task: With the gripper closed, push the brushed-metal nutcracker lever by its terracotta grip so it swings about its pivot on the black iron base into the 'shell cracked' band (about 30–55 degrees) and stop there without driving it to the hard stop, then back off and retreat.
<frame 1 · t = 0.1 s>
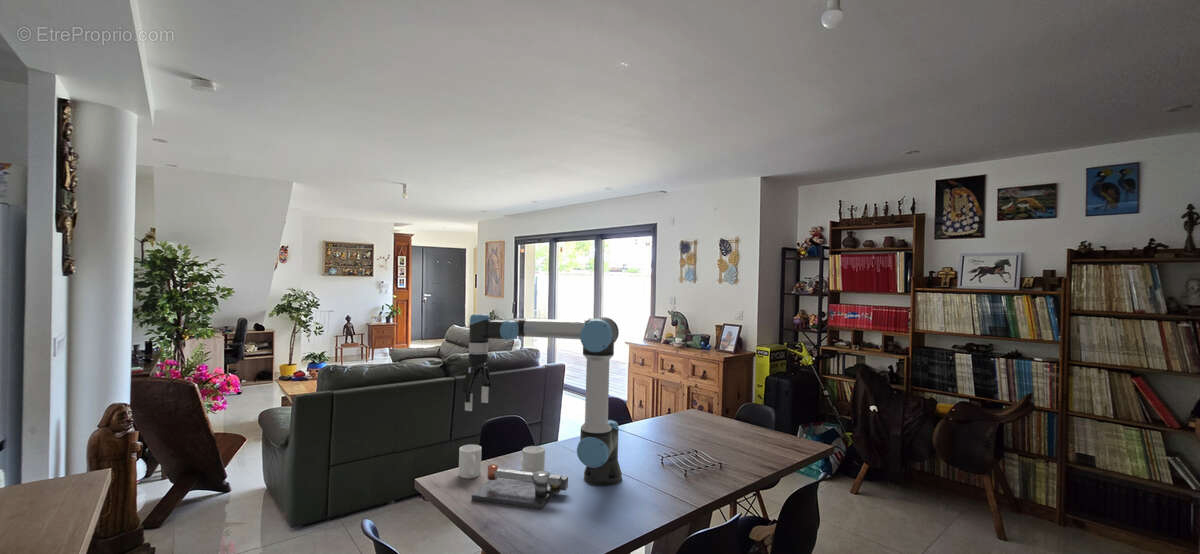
hand: (476, 406, 195), 28 cm above the table, fingers open, 13 cm apart
mug 2: (531, 471, 202), on the table
lever: (523, 475, 177), point 8 cm above the table, hinge at 0.0°
mug: (470, 476, 195), on the table
press base: (514, 495, 178), on the table
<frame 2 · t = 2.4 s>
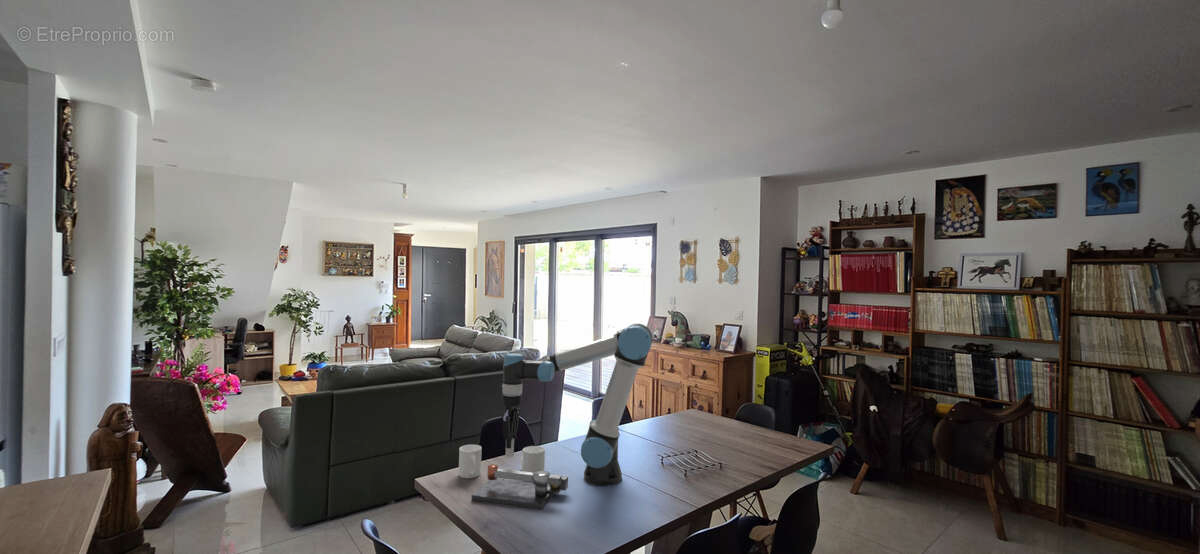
hand: (509, 455, 188), 11 cm above the table, fingers closed
nothing on the table moved.
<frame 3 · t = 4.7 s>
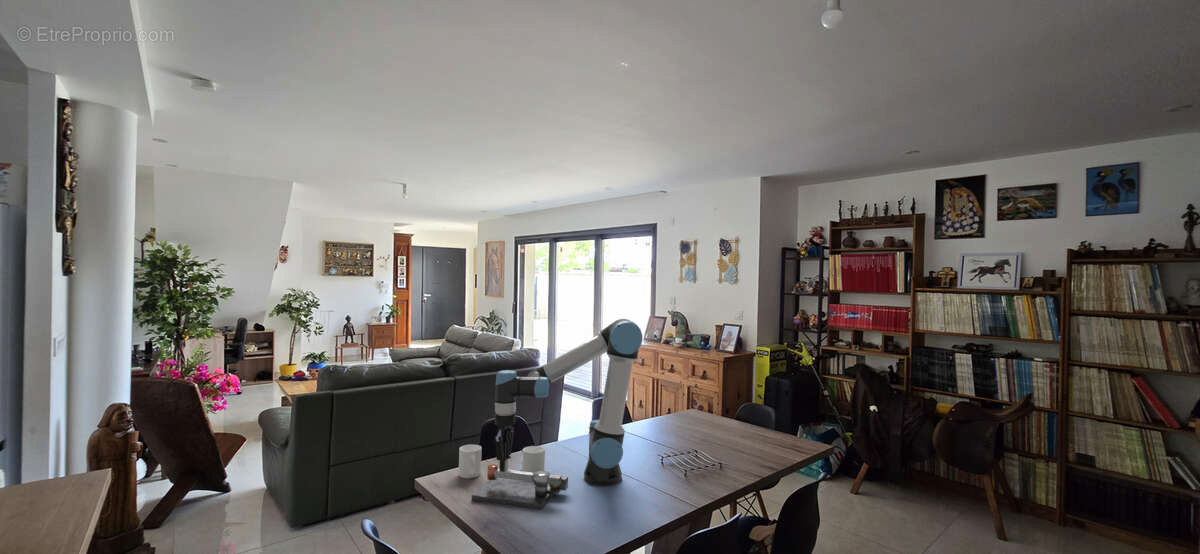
hand: (503, 477, 181), 6 cm above the table, fingers closed
lever: (523, 475, 177), point 8 cm above the table, hinge at 0.2°, touching gripper
everything else where it was.
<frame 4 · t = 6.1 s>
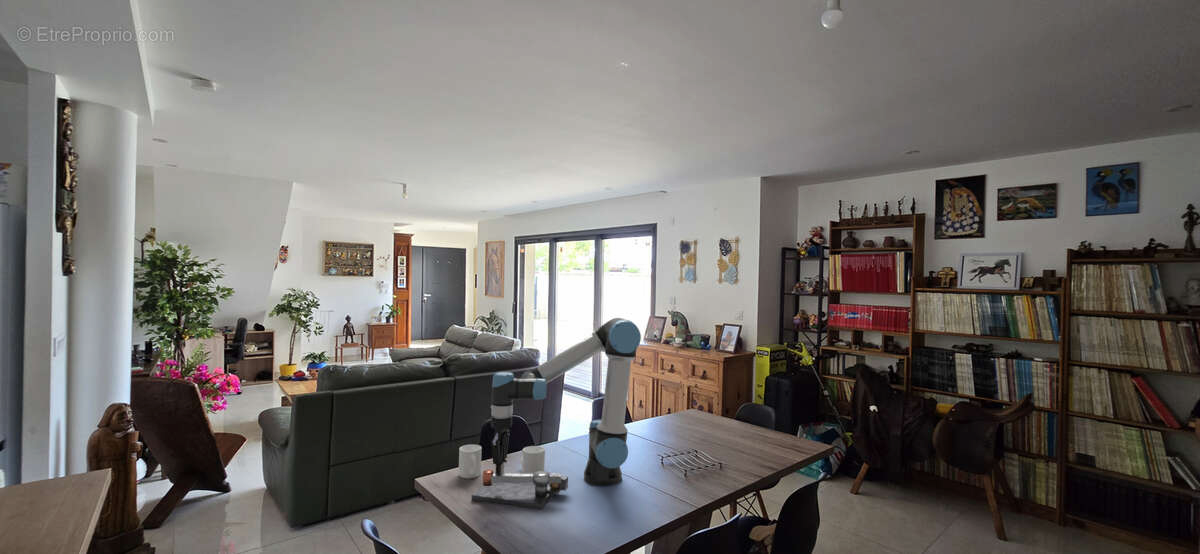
hand: (499, 481, 177), 6 cm above the table, fingers closed
lever: (522, 478, 175), point 8 cm above the table, hinge at 16.7°, touching gripper
everything else where it was.
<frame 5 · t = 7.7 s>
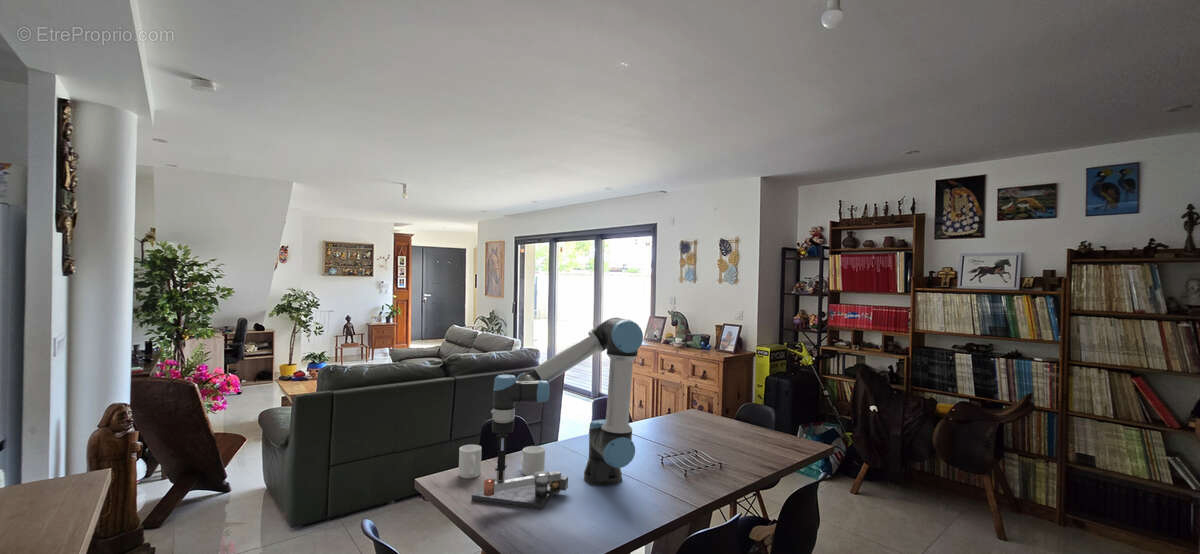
hand: (500, 487, 171), 6 cm above the table, fingers closed
lever: (523, 481, 172), point 8 cm above the table, hinge at 42.1°, touching gripper
everything else where it was.
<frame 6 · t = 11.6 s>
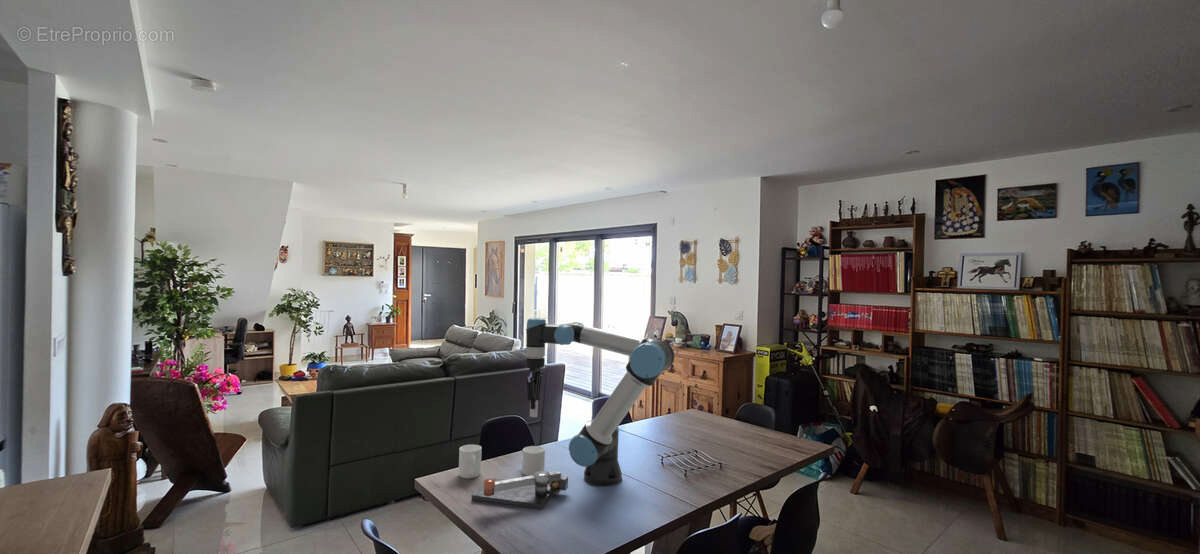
hand: (533, 416, 195), 24 cm above the table, fingers closed
lever: (523, 481, 172), point 8 cm above the table, hinge at 42.0°
everything else where it was.
at the end: lever at +42° (first picture: +0°) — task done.
